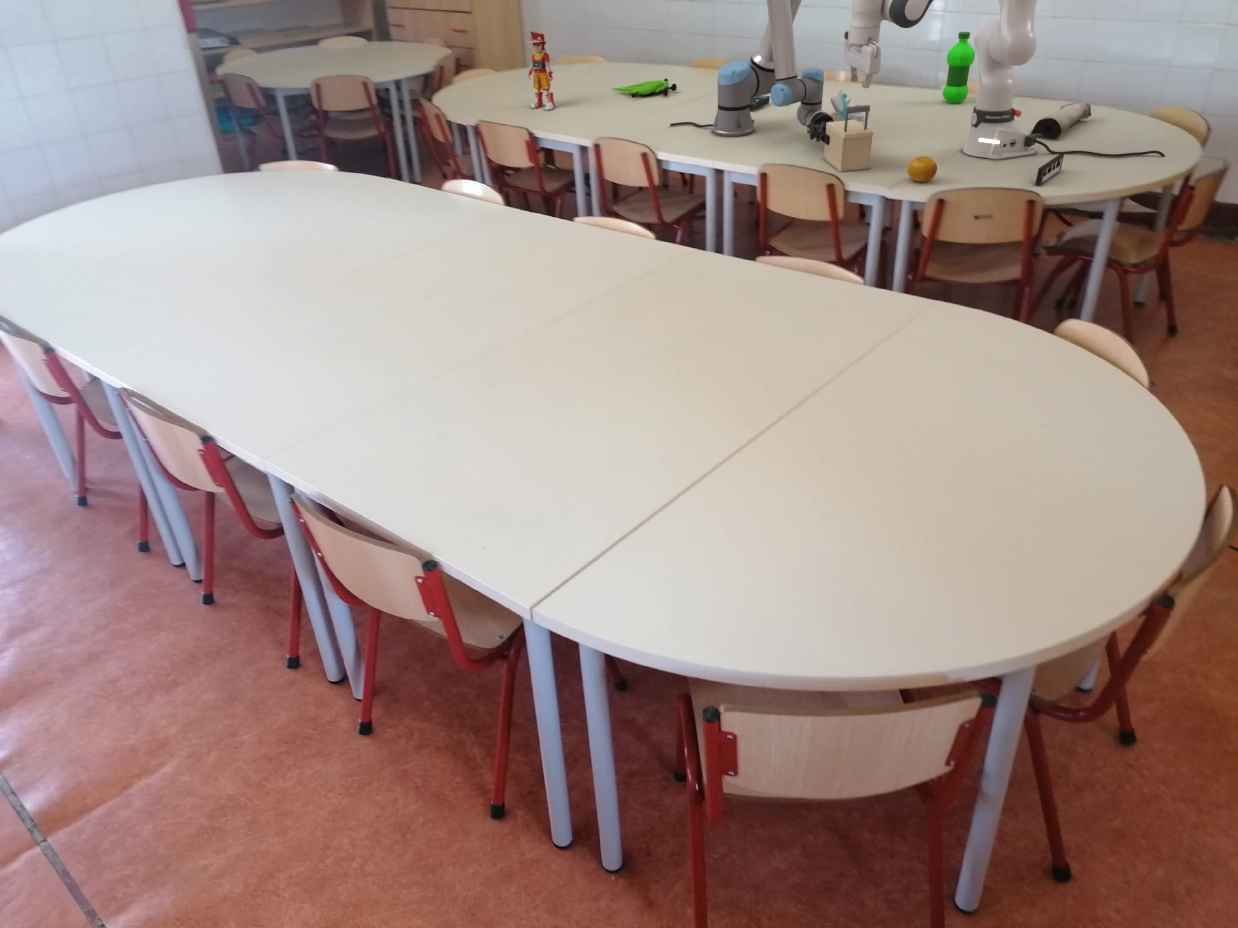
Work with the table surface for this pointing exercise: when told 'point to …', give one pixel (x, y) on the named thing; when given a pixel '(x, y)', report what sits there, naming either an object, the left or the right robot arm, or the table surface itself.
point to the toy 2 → (648, 88)
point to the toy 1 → (541, 71)
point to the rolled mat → (1061, 119)
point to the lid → (852, 124)
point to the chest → (848, 152)
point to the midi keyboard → (1049, 169)
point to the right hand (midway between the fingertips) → (859, 84)
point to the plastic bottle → (958, 69)
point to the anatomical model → (843, 105)
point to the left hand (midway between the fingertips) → (843, 139)
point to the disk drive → (758, 102)
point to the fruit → (922, 169)
